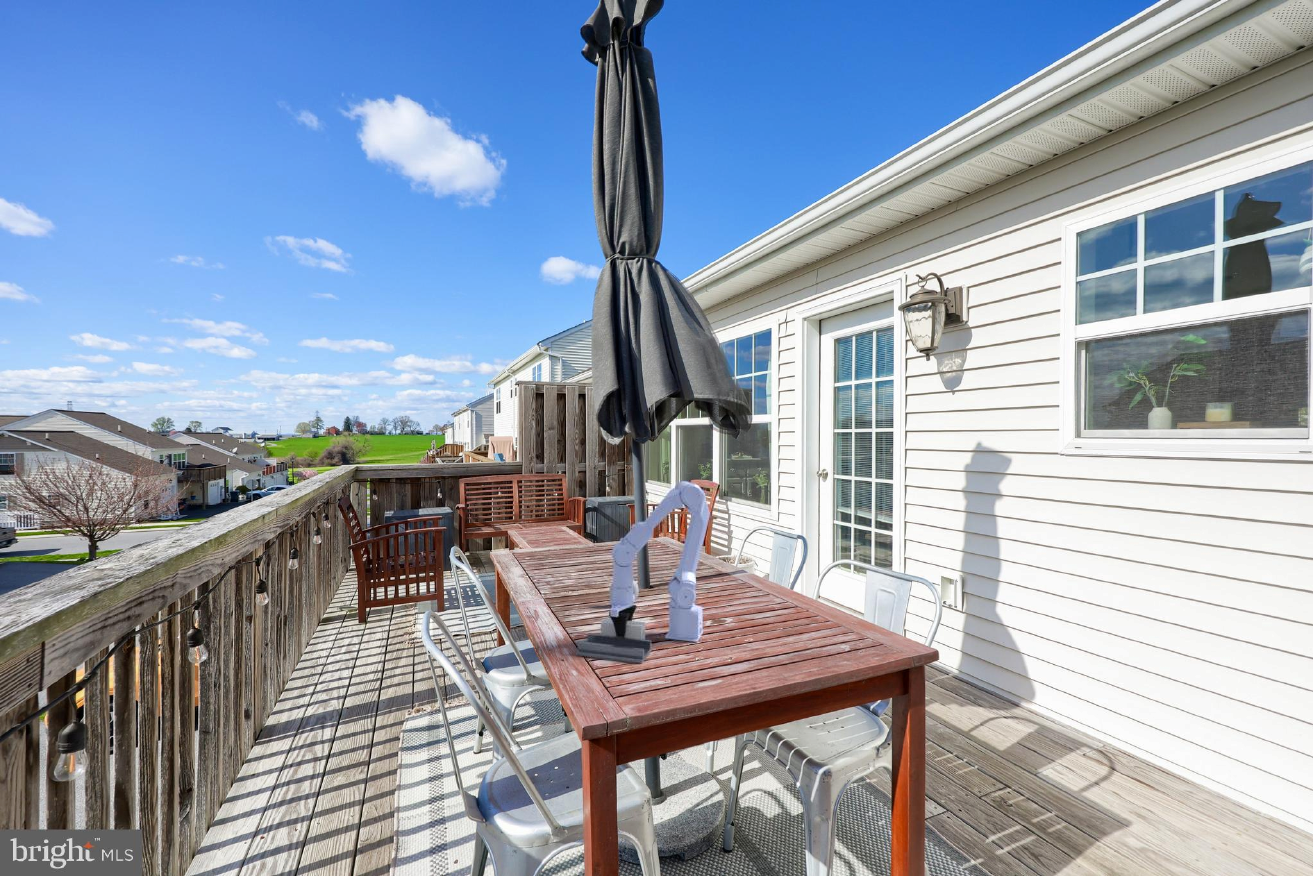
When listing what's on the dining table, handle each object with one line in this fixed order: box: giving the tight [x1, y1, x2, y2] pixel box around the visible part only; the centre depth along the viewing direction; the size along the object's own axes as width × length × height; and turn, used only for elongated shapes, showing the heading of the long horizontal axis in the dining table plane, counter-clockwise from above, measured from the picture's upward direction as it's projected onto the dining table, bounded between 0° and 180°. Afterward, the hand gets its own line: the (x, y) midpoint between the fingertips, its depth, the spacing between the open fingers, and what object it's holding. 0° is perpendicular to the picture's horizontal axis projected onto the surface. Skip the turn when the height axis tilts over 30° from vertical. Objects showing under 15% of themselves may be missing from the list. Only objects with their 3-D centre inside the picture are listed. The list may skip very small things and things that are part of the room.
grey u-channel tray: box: [576, 632, 653, 665], centre depth 143 cm, size 18×9×3 cm, turn 73°
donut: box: [608, 579, 640, 603], centre depth 182 cm, size 10×4×10 cm, turn 98°
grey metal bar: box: [600, 617, 646, 640], centre depth 152 cm, size 12×4×5 cm, turn 73°
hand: (623, 634), depth 152 cm, fingers closed on grey metal bar, 3 cm apart
